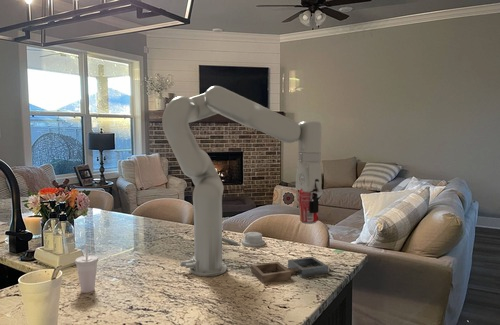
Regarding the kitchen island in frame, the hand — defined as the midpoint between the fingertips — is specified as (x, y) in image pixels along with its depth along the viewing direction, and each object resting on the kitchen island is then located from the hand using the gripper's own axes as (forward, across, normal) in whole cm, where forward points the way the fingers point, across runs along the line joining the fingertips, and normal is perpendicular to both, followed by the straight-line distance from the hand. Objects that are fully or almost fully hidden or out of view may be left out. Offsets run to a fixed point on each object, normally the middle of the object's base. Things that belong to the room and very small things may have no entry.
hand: (308, 210), depth 127 cm
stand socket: (+21, 0, -14) cm, 25 cm away
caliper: (+21, -42, -20) cm, 51 cm away
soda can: (+4, 0, 0) cm, 4 cm away
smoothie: (+21, -9, -70) cm, 74 cm away
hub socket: (+21, 0, -2) cm, 21 cm away
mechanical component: (+21, -35, -6) cm, 42 cm away
